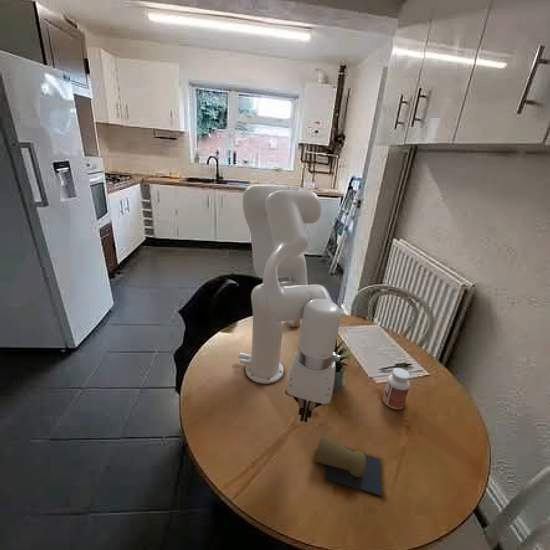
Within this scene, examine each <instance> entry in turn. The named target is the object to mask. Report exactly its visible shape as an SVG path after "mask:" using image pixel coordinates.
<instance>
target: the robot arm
mask: <svg viewBox="0 0 550 550" xmlns="http://www.w3.org/2000/svg"><path fill="white" fill-rule="evenodd" d="M242 211H243V215H244V218H245V222H246V224H247V226H248V229H249V233H250V239H251V240H250V241H251V251H252V264H253V270H254V274H255V275H256V277H257V278H260V279H262V283H260V284H258V285H256V286H254V287H253V288H252V291H251V294H250V300H251V310H252V332H251V333H252V334H251V348H250V349H251V350H250V353H249V354H247V353H244V352H240V353H239V355H238V358H239V363H240V364H243V365H244V364H245V374H246V376H247V378H249V379H250V380H251V381H253V382H255V383H258V384H263V385H266V384H273V383H276V382H278V381H280V379H281V378H282V377H283V375H284V369H285V368H284V366H283V364H282V363H281V352H282V345H283V344H282V343H283V333H284V325H283V322H286V321H292V320H300V319H301V325H300V326H301V327H300V334H299V339H298V340H299V341H298V348H297V350H296V351H295V352H294V355H293V357H292V360H291V363H290V367H289V373H288V377H287V382H286V388H285V391H284V394H285V395H287V396H288V397H291V398H293V400H294V401H295V402H296V403H297V406H298V415H299V416H300V422H304V423H308V419H311V418H312V415H313V411H314V410H315V408H318V407H320V406H326V407H327V406H328V407H329V406H332V397H333V392H334V391H333V390H334V386H335V378H336V362H340V361H341V355H339V354H338V353H336V352H335V349H336V343H337V339H338V336H339V329H340V325H341V321H342V310H341V308H340V306H339V305H338V304H336V303H335V302H334V301H333V300H332V298H331V295H330V293H329V291H328V289H327V288H326V287H325V286H324V285H322V284H317V283H316V284H309V283H308V272H307V271H308V270H307V261H306V260H307V259H306V257H305V254H304V252H305V251H306V250H307V249H308V247H309V245H310V241H309V236H308V233H307V229H306V227H305V224H315V223H317V222H318V221H319V219H320V217H321V215H322V202H321V200H320V198H319V196H318V195H317V194H316V193H315V192H314V190H310V189H308V188H304V187H301V186H297V185H283V184H282V185H281V184H254V185H250V186H248V187H247V188H245V190H244V191H243V195H242ZM281 278H282V279H283V278H287V279H288V281H279V279H281Z"/></svg>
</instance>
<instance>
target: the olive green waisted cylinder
mask: <svg viewBox="0 0 550 550" xmlns="http://www.w3.org/2000/svg"><path fill="white" fill-rule="evenodd" d="M365 455H366V454H364V453H363V452H362V451H359V450H354V451H353V452H352V450H350V449H348V448H346V447H345V446H344V445H341V444H339V443H338V442H336V441H334V440H332V439H330V437H327V436H325V435H323V434H321V436H320V439H319V442H318V444H317V449H316V453H315V457H314V462H315V463H318V464H322V465H326V466H328V465H329V466H333V467H336V468H340V469H344V470H347V471H349V472H350V474H351V475H353V476H355V477H361V476H362V475H363V473H364V470H365V466H366V457H365Z"/></svg>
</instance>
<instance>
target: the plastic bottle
mask: <svg viewBox="0 0 550 550" xmlns="http://www.w3.org/2000/svg"><path fill="white" fill-rule="evenodd" d="M285 323H286V325H287V326H288V327H291V328H298V327H299V326H301V324H302V319H300V320H292V321H285Z"/></svg>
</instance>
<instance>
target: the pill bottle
mask: <svg viewBox="0 0 550 550" xmlns="http://www.w3.org/2000/svg"><path fill="white" fill-rule="evenodd" d="M410 376H411V375H410V372H409V371H407V370H406V369H404V368H402V367H401V368H400V367H394V368H393V370H392V372H391V374H389V375H388V377H387V380H386V384H385V389H384V393H383V395H382V401H383V402H384V404H385V405H386V406H388V407H389V408H391V409H393V410H401V409H403V408H404V406H405V404H406V401H407V396H408V393H409V390H410V386H411V383H410Z"/></svg>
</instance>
